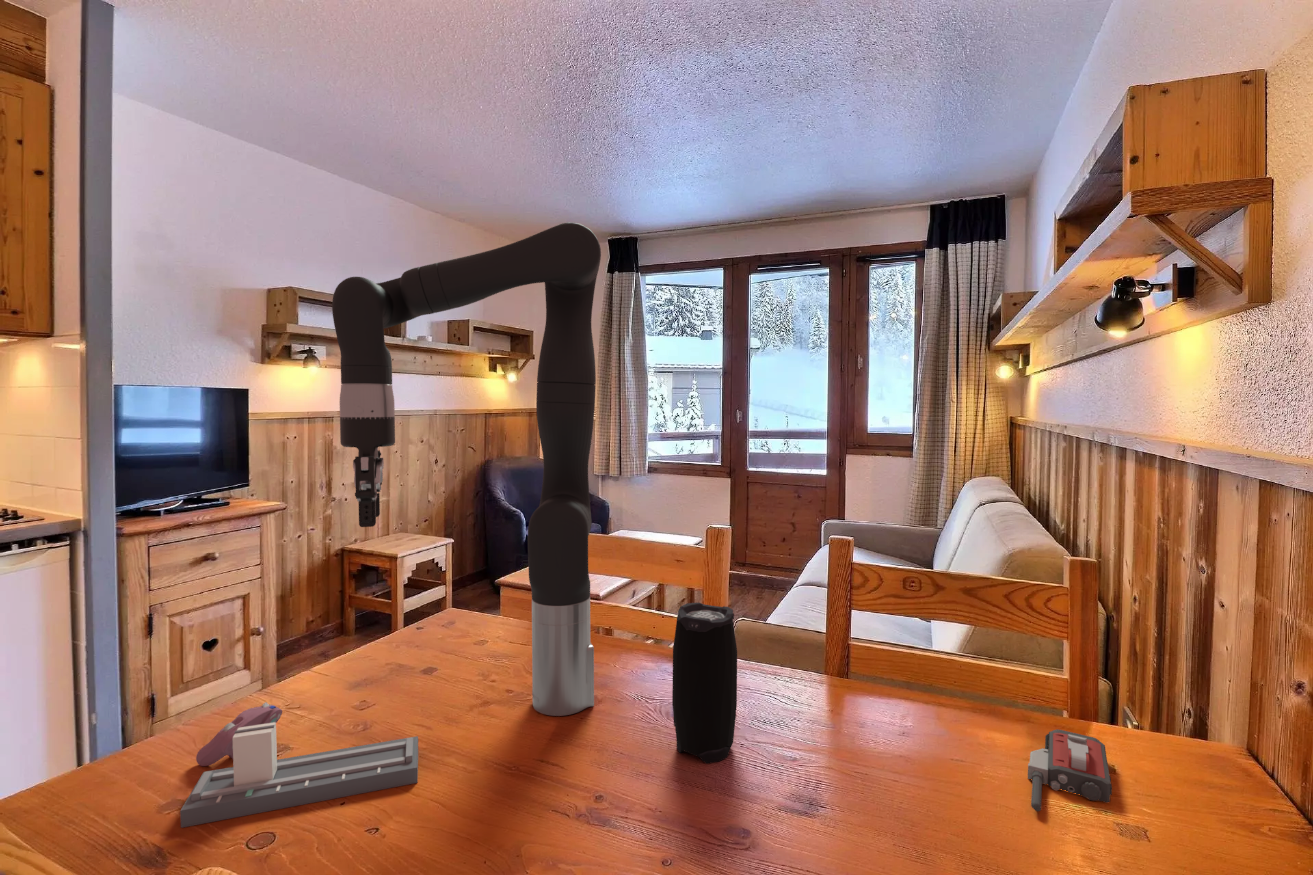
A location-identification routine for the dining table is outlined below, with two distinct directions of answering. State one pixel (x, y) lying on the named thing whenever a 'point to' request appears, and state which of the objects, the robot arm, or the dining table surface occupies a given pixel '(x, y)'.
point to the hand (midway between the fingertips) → (370, 521)
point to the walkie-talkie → (1070, 767)
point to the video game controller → (224, 737)
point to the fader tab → (254, 754)
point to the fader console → (304, 781)
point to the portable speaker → (704, 681)
